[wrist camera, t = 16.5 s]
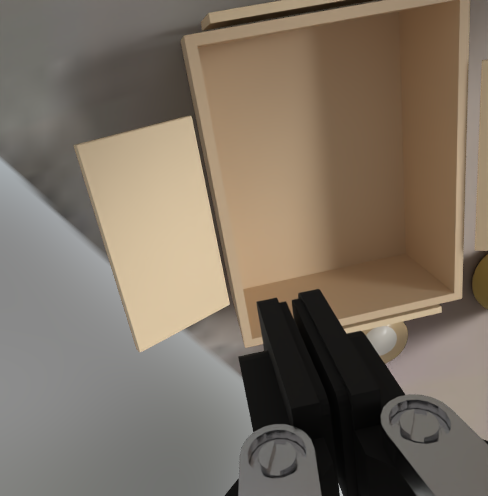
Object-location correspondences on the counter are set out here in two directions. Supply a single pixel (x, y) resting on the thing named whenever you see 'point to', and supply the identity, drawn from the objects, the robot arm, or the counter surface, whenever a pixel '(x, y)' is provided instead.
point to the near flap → (156, 226)
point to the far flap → (482, 167)
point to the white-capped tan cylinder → (388, 340)
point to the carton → (336, 153)
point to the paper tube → (481, 282)
